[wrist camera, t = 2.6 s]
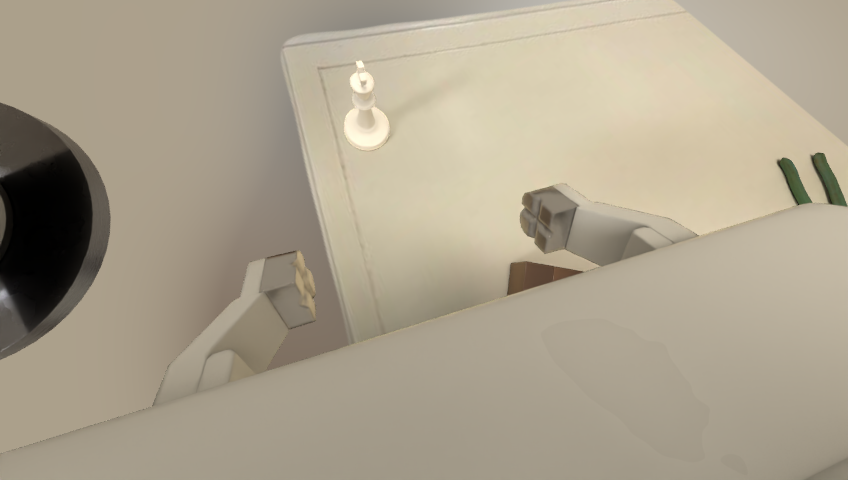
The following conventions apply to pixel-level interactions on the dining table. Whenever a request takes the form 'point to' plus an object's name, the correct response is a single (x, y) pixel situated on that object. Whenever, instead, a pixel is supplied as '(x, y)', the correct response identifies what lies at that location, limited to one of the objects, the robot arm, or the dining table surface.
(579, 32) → the dining table surface
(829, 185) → the pliers
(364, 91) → the chess piece
